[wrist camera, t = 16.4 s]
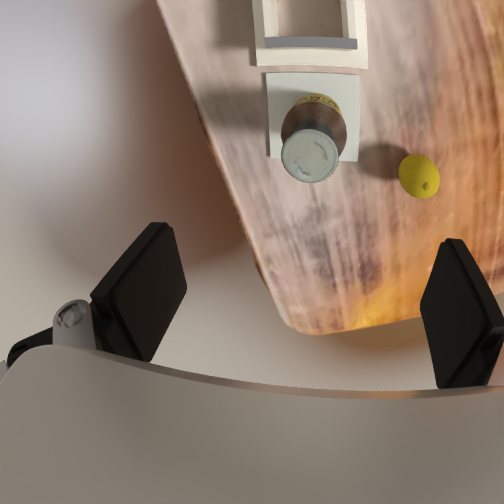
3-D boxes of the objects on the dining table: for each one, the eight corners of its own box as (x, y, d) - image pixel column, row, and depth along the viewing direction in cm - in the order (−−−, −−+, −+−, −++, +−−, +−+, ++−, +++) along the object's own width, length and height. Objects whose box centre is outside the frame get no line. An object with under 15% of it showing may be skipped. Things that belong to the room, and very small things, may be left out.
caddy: (360, -24, 22) (369, -43, 16) (366, 69, 30) (378, 69, 24) (251, -25, 25) (236, -42, 19) (258, 66, 33) (245, 65, 27)
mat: (359, 75, 31) (360, 75, 30) (357, 160, 38) (357, 161, 37) (266, 73, 33) (265, 73, 33) (271, 156, 40) (270, 158, 40)
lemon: (422, 142, 34) (443, 160, 27) (431, 177, 36) (451, 201, 30) (387, 153, 36) (402, 173, 30) (398, 188, 39) (412, 214, 32)
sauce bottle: (339, 92, 32) (362, 113, 17) (341, 137, 36) (361, 199, 20) (289, 92, 34) (264, 114, 18) (293, 137, 37) (272, 199, 21)
